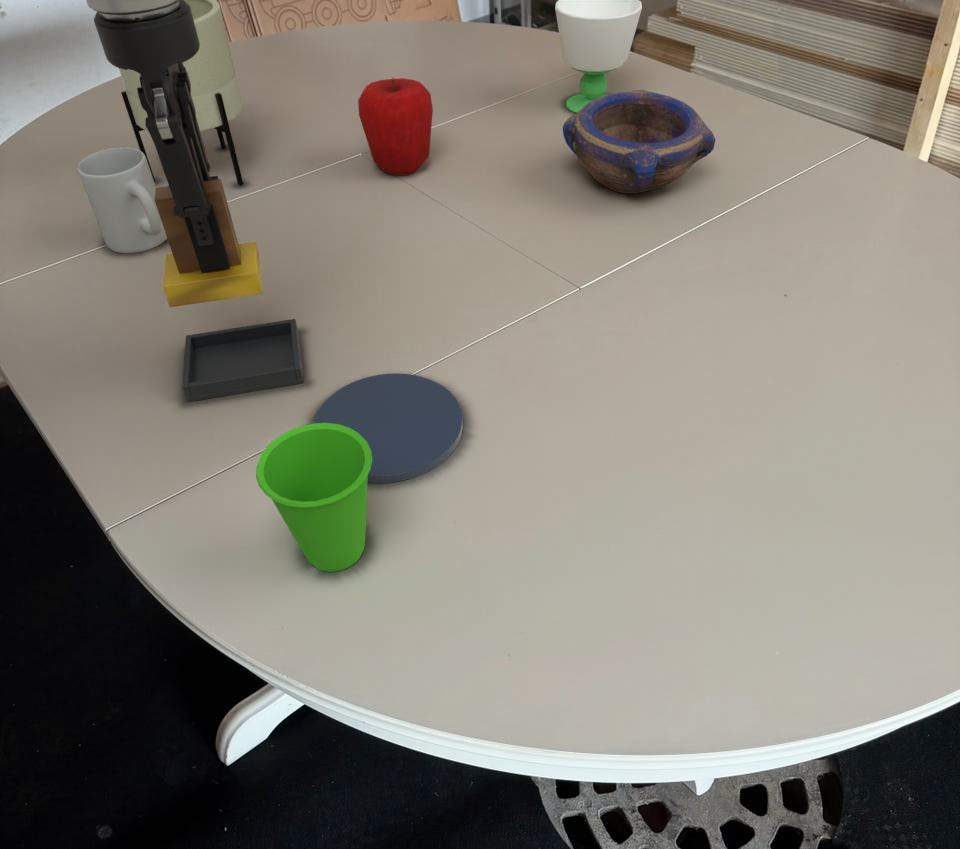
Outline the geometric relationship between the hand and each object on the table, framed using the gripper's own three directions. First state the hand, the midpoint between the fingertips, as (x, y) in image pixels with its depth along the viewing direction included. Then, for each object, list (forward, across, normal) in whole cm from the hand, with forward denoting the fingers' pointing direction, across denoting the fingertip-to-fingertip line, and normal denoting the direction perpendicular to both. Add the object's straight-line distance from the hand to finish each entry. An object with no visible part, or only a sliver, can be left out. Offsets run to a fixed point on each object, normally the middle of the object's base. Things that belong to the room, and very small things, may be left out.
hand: (215, 259), depth 82 cm
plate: (+14, -14, -14) cm, 24 cm away
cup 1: (+14, -28, -7) cm, 32 cm away
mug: (+14, +31, +13) cm, 36 cm away
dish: (+14, 0, 0) cm, 14 cm away
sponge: (+3, 0, +1) cm, 3 cm away
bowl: (+14, +29, -56) cm, 64 cm away
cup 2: (+14, +57, -59) cm, 83 cm away
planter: (+14, +50, +5) cm, 52 cm away
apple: (+14, +43, -24) cm, 51 cm away
